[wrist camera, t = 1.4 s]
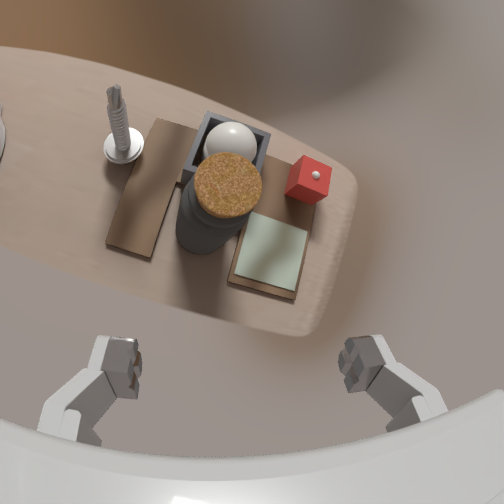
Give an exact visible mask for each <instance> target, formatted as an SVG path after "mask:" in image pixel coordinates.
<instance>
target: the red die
mask: <svg viewBox="0 0 504 504" xmlns="http://www.w3.org/2000/svg"><path fill="white" fill-rule="evenodd" d="M331 171H332V168H331V167H329V166H327V165H325V164H323V163H321V162H318V161H316V160H314V159H312V158H309V157H307V156H305V155H303V156H302V157H301V158H300V159H299V160H298V161H297V162H296V163H295V164H294V165H293V166H292V167H291V168H290V172H289V176H288V180H287V184H286V189H285V193H284V194H285V195H287V196H290V197H292V198H295V199H297V200H300V201H303V202H305V203H308V204H310V205H313V204H315V203H316V202H318V201H320V200H322V199H323V198H325V197H327V196H328V190H329V184H330V178H331Z"/></svg>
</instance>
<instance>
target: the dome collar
mask: <svg viewBox="0 0 504 504" xmlns="http://www.w3.org/2000/svg"><path fill="white" fill-rule="evenodd" d="M225 122H238V121H235V120H232V119H230V118H227V117H224V116H221V115H218V114H215V113H212V112H209V111H207V112H206V114H205V116H204V119H203V121H202V123H201V125H200V128H199V130H198V133H197V135H196V137H195V140H194V142H193V145H192V147H191V149H190V152H189V154H188V157H187V159H186V162H185V165H184V167H183V171H182V176H181V183H184V184H188V182H189V181H190V180H191V178H192V176H193V175H194V173H195V172H196V170H197V168H198V167H196V166H193V164H194V161H195V159H196V156H197V154H198V151H199V149H200V146H201V143H202V141H203V138H204V136H205V134H207V135H208V134H209V132H210V131H211V130H212V129H213V128H215V127H216V126H218V125H219V124H222V123H225ZM238 123H241V122H238ZM241 124H243V123H241ZM243 125H245V126H246V127H248V128H249V129H250V130H251V131H252V133H253V134H254V136H255V139H256V142H257V152H256V156H255V158H254V159H253V161H252V162H251V163H252V164H253V165H254V166H255V167H256V169H257V170H258V172H259V174H260V172H261V168H262V165H263V161H264V158H265V154H266V150H267V147H268V143H269V140H270V136H271V134H270V133H267V132H264V131H262V130H259V129H257V128H254V127H251V126H249V125H246V124H243Z"/></svg>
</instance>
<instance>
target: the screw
mask: <svg viewBox="0 0 504 504" xmlns="http://www.w3.org/2000/svg"><path fill="white" fill-rule="evenodd" d="M106 92H107V98H108V103H109V104H108V106H107V113H108V117H109V120H110V126H111V129H112V133H111V134H110V135H109V136H108V137H107V139H106V140H105V143H104V153H105V156H106V157H107V159H108V160H109V161H110V162H112V163H115V164H120V165H123V164H128V163H131V162H132V161H134V160H136V159H137V158H138V157H139V156H140V154H141V153H142V151H143V147H144V141H143V137H142V135H141V134H140V133H139V132H138V131H137V130H135V129H133V128H129V125H128V118H127V109H126V104H125V101H124V99H123V98H122V94H121V87H120V86H119V85H117V84H116V85H114V86H113V87H110V88H109V89H107V91H106Z"/></svg>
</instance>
